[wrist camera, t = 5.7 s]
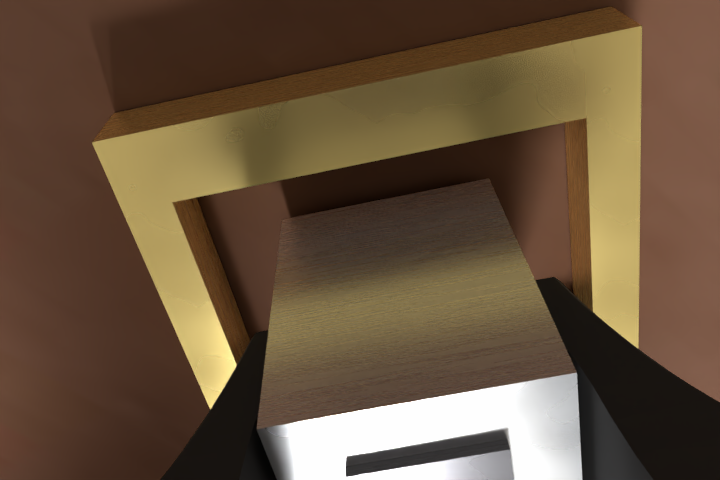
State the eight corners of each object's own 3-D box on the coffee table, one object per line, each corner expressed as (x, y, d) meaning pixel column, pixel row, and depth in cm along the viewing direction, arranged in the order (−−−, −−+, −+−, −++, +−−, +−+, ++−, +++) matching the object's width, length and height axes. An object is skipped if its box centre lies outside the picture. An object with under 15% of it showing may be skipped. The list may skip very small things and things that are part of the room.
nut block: (328, 372, 17) (328, 618, 12) (281, 219, 15) (255, 439, 9) (507, 340, 17) (590, 578, 11) (488, 178, 14) (581, 383, 9)
